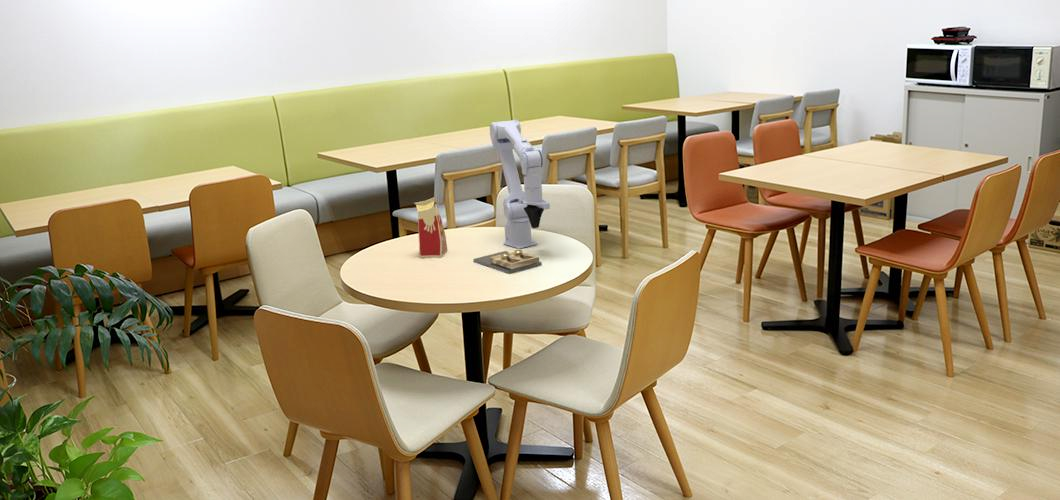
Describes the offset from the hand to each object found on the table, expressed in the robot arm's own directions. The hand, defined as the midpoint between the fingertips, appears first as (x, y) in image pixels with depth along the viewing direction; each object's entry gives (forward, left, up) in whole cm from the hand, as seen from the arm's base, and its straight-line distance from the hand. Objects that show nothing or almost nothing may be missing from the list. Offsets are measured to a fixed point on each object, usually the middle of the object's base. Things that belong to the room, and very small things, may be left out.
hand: (535, 227), depth 299 cm
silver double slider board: (+1, -13, -9) cm, 16 cm away
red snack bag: (-28, -24, -10) cm, 38 cm away
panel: (+5, -13, -8) cm, 16 cm away
